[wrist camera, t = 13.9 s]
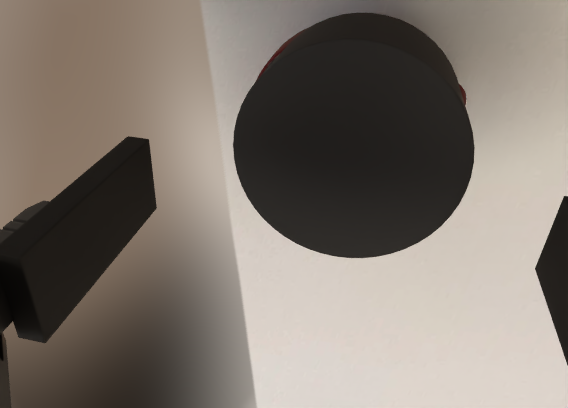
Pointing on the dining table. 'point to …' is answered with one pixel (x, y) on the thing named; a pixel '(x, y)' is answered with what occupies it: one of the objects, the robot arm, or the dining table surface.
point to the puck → (355, 138)
